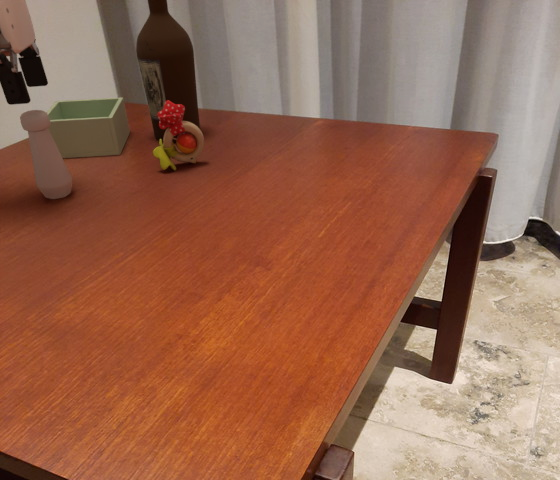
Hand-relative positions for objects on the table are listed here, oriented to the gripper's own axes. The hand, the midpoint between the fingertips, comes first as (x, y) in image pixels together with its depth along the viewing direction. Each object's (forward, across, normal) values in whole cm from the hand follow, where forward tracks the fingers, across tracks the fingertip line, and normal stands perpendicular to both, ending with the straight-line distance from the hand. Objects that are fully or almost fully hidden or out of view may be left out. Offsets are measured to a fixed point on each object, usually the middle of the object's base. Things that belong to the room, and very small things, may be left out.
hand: (29, 94), depth 83 cm
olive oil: (+16, -27, +17) cm, 36 cm away
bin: (+15, -24, 0) cm, 29 cm away
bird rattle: (+16, -10, +19) cm, 27 cm away
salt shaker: (+16, 0, -1) cm, 16 cm away
